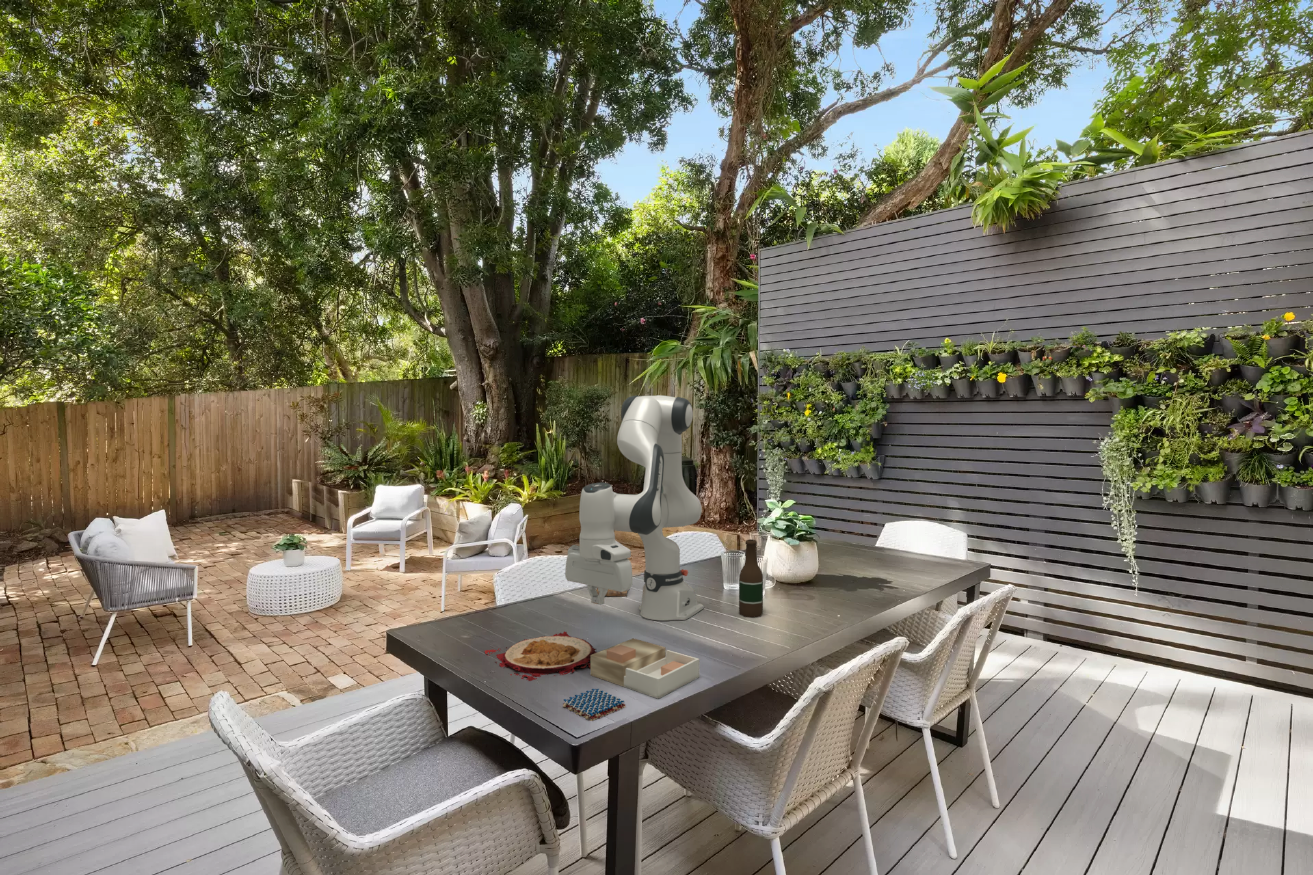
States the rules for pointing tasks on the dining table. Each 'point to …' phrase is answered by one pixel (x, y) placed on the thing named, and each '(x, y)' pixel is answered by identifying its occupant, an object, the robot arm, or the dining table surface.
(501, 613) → the dining table surface
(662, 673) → the terracotta tile
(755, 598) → the beer bottle
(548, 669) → the plate with food
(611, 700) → the woven mat
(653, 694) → the box
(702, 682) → the dining table surface
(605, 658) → the wooden box sleeve
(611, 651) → the terracotta tile
